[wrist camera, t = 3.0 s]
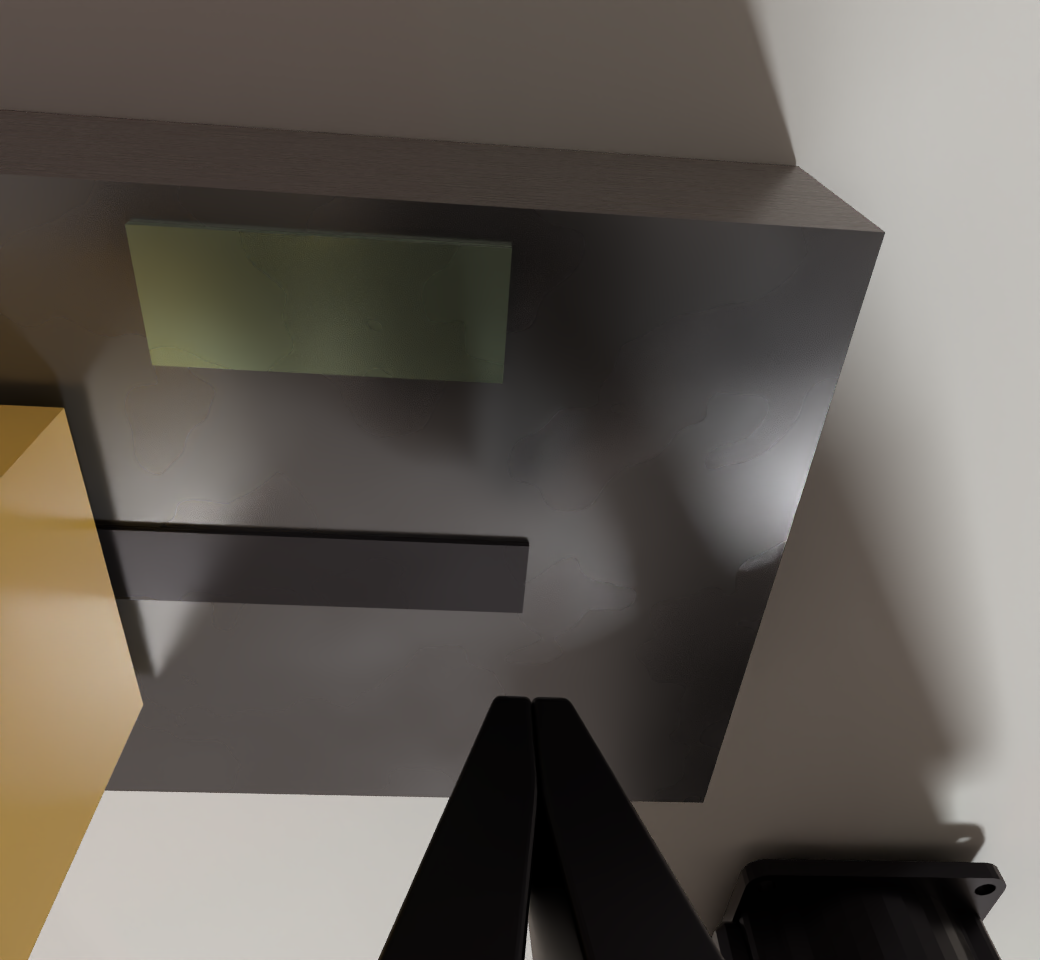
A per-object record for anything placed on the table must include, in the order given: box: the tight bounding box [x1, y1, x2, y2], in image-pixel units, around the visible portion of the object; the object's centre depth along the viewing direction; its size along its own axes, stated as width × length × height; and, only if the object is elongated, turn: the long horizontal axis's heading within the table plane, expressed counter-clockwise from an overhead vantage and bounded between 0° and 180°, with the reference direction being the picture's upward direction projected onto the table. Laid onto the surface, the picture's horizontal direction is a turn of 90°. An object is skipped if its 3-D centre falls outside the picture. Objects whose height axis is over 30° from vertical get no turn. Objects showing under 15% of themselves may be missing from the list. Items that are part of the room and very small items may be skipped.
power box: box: [0, 110, 885, 803], centre depth 12 cm, size 22×10×3 cm, turn 86°
